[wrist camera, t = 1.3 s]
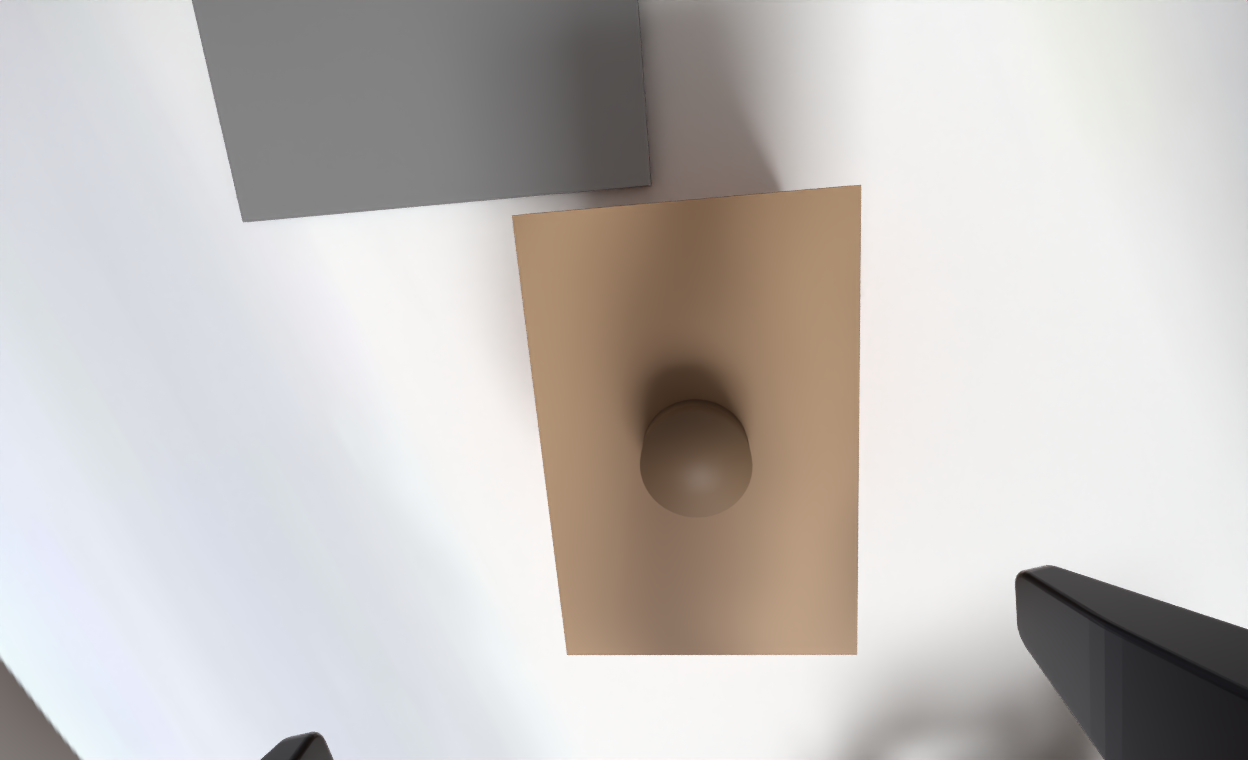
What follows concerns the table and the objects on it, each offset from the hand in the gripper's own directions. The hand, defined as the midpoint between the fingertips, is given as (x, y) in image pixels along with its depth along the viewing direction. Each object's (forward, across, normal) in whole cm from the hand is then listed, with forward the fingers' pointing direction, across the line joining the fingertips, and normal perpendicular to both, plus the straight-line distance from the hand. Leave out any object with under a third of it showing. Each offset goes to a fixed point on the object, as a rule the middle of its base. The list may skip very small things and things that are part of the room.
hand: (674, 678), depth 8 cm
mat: (+15, +3, -12) cm, 19 cm away
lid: (+9, -2, 0) cm, 9 cm away
